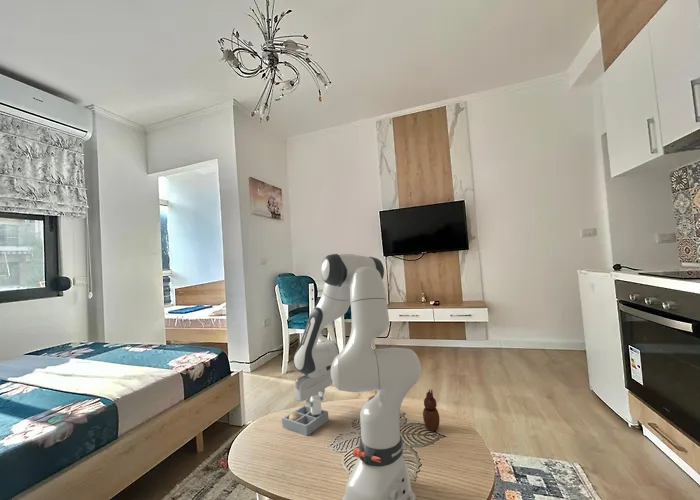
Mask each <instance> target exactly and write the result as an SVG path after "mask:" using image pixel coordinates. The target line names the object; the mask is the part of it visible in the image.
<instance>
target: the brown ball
mask: <svg viewBox="0 0 700 500" xmlns="http://www.w3.org/2000/svg"><path fill="white" fill-rule="evenodd" d="M292 412H293V413H292ZM292 412H291V414H290V413H289V414H290V416H289V419H290V420H293V421H296V420H297V419H299V418H300V414H299V413H297V412H294V411H292Z"/></svg>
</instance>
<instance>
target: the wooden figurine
mask: <svg viewBox="0 0 700 500" xmlns="http://www.w3.org/2000/svg"><path fill="white" fill-rule="evenodd" d="M433 393H434V392H433V389H428V391H427V392H426V395H425V396H426V397H425V398H423V405H424V408H423V409H422V416H423V417H422V419H423V422H424V426H425V428H426V429H427V430H429V431H436V430H438V429H439V427H440V420H441V419H440V414H439V410H438V409H437V400H436V399H435V398H434V394H433Z"/></svg>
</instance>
